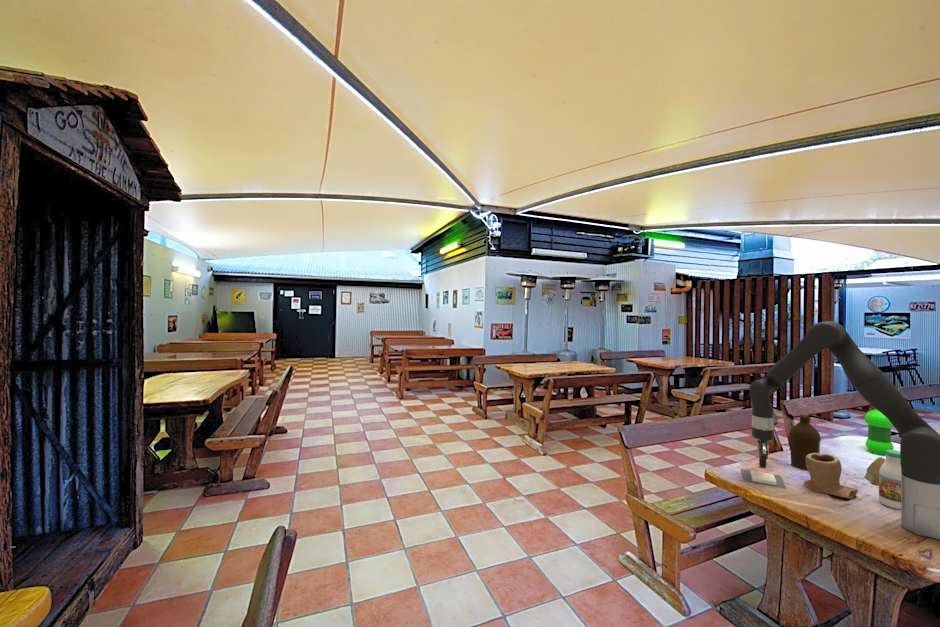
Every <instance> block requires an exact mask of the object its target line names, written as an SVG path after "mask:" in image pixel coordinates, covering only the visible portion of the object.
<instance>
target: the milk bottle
mask: <svg viewBox="0 0 940 627" xmlns="http://www.w3.org/2000/svg"><path fill="white" fill-rule="evenodd" d="M885 454H886V455H884V456H885V462H884V463H883V464H882V466H881V468H880V471H879V485H878V501H879V503H881V505H884V506H886V507H889V508H893V509H896V510H901V465H900V451H899V450H894V449H893V450H886V451H885Z"/></svg>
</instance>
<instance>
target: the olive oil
mask: <svg viewBox="0 0 940 627" xmlns="http://www.w3.org/2000/svg"><path fill="white" fill-rule="evenodd" d="M799 415H800V416H799V422H798V423H796V424H795V425H793V426H792V427H791V428H790V430H789V432H788V436H789V447H790V450H789V451H790V466H792V467H794V468H796V469H798V470H799V469H800V470H801V471H807V472H808V470H807V467H806V461H805V458H806V456H807V455H808V454H811V453H819V454H821V453H820V452H821V451H820V450H821V439H822V438H821V434H820V432H819V431H818V430H817V429H816V428H815V427H814V425H812V424H811V423H810V420H811V419H810V418H811V417H810V414H808V413H799Z"/></svg>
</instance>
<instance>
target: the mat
mask: <svg viewBox="0 0 940 627" xmlns="http://www.w3.org/2000/svg"><path fill="white" fill-rule="evenodd" d="M750 471H752V470H750V469H745V468H744V469H743V468H740V472H741V476H742V481H743V482H746V483H752V484H756V485H763V486H768V487H773V488H780V489H784V490H786V489H787V487H786V485H785V483H784V480H783V478H782V476H781V475H778V474H775V473H774V474H773V473H772V474H773V475H774V477H775V479H776V482H777V485H776V486H774V485H769V484H764V483H758V482H753V481H752V479H751V475H750ZM755 471H756V472H758V471H757V470H755Z"/></svg>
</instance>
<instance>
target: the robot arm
mask: <svg viewBox="0 0 940 627" xmlns="http://www.w3.org/2000/svg"><path fill="white" fill-rule="evenodd" d="M825 349H828V351H830V352H831V353H832V354H833V355H834V357H835V358H836V360H838V362H839V363H840V366H841V368H842V370H843V372H844V374H845V376H846V378H847V380H848V381H849V382H850V384H851V386H853V388H854V389H855V390H856V391H857V392H858V393H859V395H860V396H861V397H862V398H863V399H864V400H865V401H866V402H867V403H869V405H870V406H872V407H873V408H874V409H875V408H876V409H877V410H878V411H880V412H881V413H882V414H883V415H884V416H886V417H887V419H888V420H889V421H890V422H891V423H892V424H893V427H894V429H896V431H897V432H898V434H899V436H901V438H900V445H899V447H900V451H899V452H900V465H901V509H900V526H902V527H903V529H905V530H908V531H909V532H911V533H913V534H914V535H918V536H922V537H928V538H930V539H931V538H933V539H937V540H940V433H938V432H937V431H936V430H935V429H934V428H933V427H932V426H931V425H930V424H928V422H927V421H926V420H924V418H923V417H921V415H919V414H918V413H917V412H916V411H915V410H914V409H913V408H912V406H911V404H909V402H908V401H907V399H906V397H904V395H902V393H901V392H900V391H899V389H898V388H897V387H896V386H895V384H894V383H893V382H892V381H891V380H890V379H889V378H888V376H886V375H885V373H884V372H883V371H882V370H881V369H880V368H879V367H878V366H877V365H876V364H875V363H874V361H872V360H871V359H870V357H868V356H867V355H866V354H864V352H863V350H861V349H860V348H859V347H858V344H856V343H855V341H854V340H853V338H852V336H850V334H849V332H848V331H847V329H846V328H845V327H844V326H843V325H842V324H840V323H839V322H836V321H831V320H825V321H820V322H817V323H815V324H813V325H812V326H811V327H810V329H809V330H808V332H807V333H806V334H805V335H804V336H803V337H802V339H801V340H800V341H799V342H798V343H797V344H796V345H795V346H794V347H793V348H792V349H791V350H790V351H789V352H787V353H786V354H785V355H784V356H783V357H781V358H780V359H779V360H778V361H777V362H776V363H775V364H774V365H772V366H771V367H770V368H769V369H768V370H767V373H766V374H765V375H764V376H762V377H761V378H760V379H756V380H754V381H752V382H751V383H750V385H749V388H748V389H749V390H748V391H749V398H750V401H751V404H752V406H751V408H752V411H751V412H752V414H751V415H752V416H751V437H753V438H754V439H758V440H756V450H757V454H758V455H757V456H758V466H759V468H761V469H766V468H767V460H768V457H769V449H770V444H769V442H768V441H773V440H774V439H775V421H774V406H773V404H772V403H771V402H770V396H772V395H773V394H774V393H775V392H777V391H778V390H779V389H780V388H781V387H782V386H783V384H785V382H787V381H788V380H790V379H791V378H792V377H793V376H795V375H796V374H797V373H798V372H799V371H800V370H801V369H803V367H804V366H806V364H807V363H808V362H809V361H810V359H812V358H814V356H816V355H817V354H819V353H820V352H822V351H823V350H825Z"/></svg>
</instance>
